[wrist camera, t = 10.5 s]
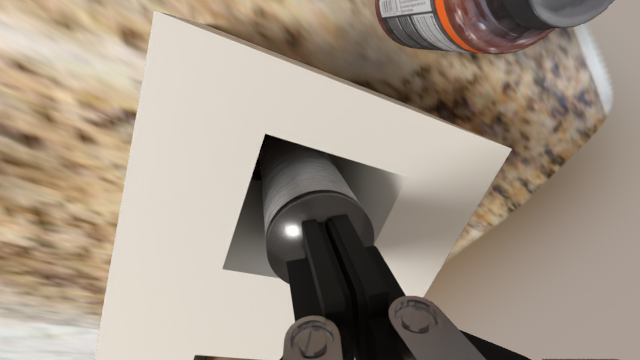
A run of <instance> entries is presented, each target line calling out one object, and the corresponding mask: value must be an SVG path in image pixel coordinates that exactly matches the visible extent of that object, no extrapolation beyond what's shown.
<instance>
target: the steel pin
mask: <svg viewBox="0 0 640 360" xmlns="http://www.w3.org/2000/svg"><path fill="white" fill-rule="evenodd" d="M260 169H261V183H262V197H263V211H264V225H265V239H266V252H267V259H268V262H269V265H270V267H271V269H272V270H273V272H274V273H275V274H276V275H277V276H278V277H279V278H280V279H281V280H283V281H284V282H286V283H288V284H289V278H288V271H287V264H286V261H290V260H296V259H301V258H305V252H304V244H303V235H302V226H301V221H307V220H313V219H316V220H317V222H318V223H319V222H323V224H324V227H325V229H326V232H327V221H331V217H332V216H337V215H343V214H347V215H348V217H349V219H350V221H351V222H352V224H353V226H354V228H355V230H356V232H357V234H358V235H359V237H360V239H361V241H362V243H363V245H364V247H367V246H373V245H374V229H373V225H372V223H371V220H370V218H369V217H368V215H367V214H366V212H365V211H364V209H363V208H362V206H361V205H360V203H359V201H358V200H357V198H356V197H355V195H354V194H353V192H352V191H351V189H350V188H349V186H348V185H347V183H346V182H345V180H344V179H343V177H342V176H341V174H340V172H339V171H338V169H337V168H336V166H335V165H334V163H333V162H332V160H331V159H330V157H329V156H328V154H327V153H326V152H324V151H320V150H317V149H314V148H311V147H307V146H304V145H301V144H297V143H294V142H291V141H288V140H284V139H281V138H278V137H275V136H271V137H270V138H269V139H268V140H267V142H266V143H265V144H264V146H263V148H262V151H261V155H260Z"/></svg>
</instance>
